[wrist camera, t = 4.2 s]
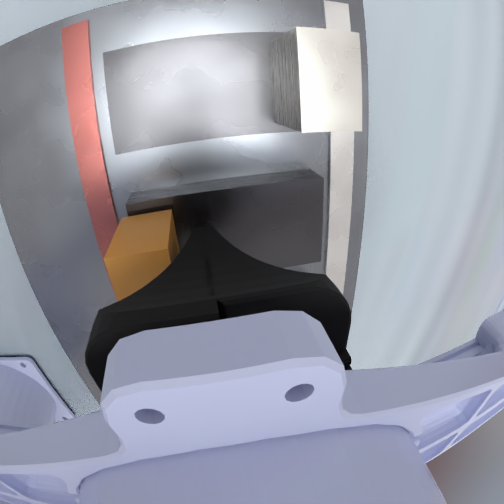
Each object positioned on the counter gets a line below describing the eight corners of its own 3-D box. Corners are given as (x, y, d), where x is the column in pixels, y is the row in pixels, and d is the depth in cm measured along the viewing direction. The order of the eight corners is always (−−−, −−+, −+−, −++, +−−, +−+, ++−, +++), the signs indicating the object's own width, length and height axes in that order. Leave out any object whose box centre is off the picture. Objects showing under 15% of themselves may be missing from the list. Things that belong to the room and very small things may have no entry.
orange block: (140, 286, 13) (132, 337, 10) (121, 218, 11) (103, 259, 9) (185, 279, 13) (187, 330, 10) (171, 209, 12) (168, 248, 9)
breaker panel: (111, 406, 21) (106, 467, 16) (-10, 59, 9) (-83, 60, 4) (332, 371, 23) (359, 427, 18) (350, 3, 11) (423, -22, 6)
